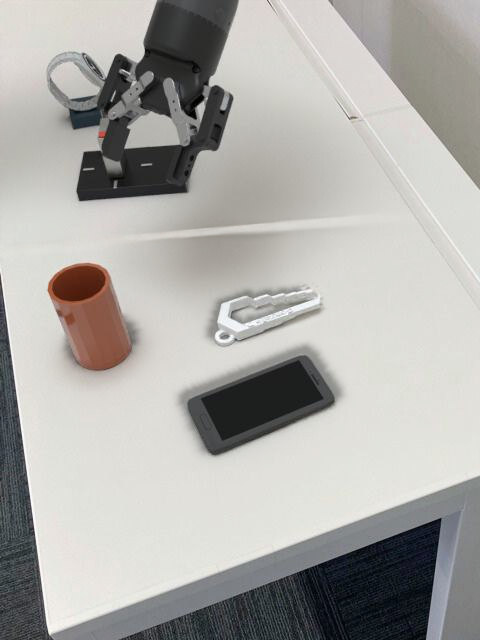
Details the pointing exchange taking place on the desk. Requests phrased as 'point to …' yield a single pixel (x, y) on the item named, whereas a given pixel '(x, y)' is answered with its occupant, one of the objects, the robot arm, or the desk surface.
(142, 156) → the hob panel
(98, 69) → the watch
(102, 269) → the tumbler
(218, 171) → the desk surface
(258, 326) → the white stepped wedge frame
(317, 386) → the cell phone
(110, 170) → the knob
